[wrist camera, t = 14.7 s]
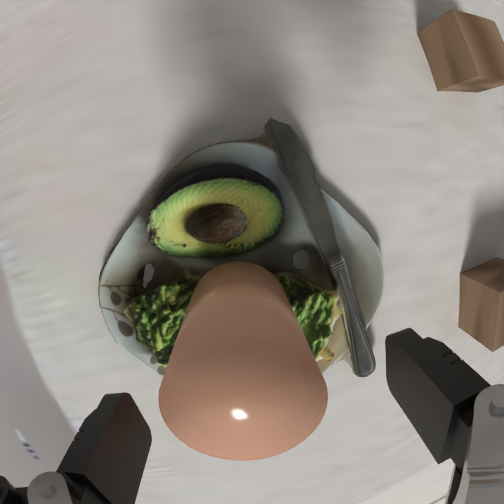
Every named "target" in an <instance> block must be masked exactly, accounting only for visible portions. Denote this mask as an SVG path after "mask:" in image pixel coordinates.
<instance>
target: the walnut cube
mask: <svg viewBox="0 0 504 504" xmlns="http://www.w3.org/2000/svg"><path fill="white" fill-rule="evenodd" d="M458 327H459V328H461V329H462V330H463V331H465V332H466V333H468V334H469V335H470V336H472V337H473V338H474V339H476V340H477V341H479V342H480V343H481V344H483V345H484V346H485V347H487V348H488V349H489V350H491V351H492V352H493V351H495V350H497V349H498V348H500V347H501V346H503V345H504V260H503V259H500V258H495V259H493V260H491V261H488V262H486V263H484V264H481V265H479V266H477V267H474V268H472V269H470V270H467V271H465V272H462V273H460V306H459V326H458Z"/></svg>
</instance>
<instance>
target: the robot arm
mask: <svg viewBox="0 0 504 504" xmlns="http://www.w3.org/2000/svg"><path fill="white" fill-rule="evenodd" d="M385 346H386V377H387V383H388V386H389V389H390V391H391V393H392V395H393V396H394V398H395V399H396V401H397V402H398V404H399V405H400V407H401V408H402V410H403V411H404V413H405V414H406V416H407V417H408V419H409V420H410V422H411V423H412V425H413V426H414V428H415V429H416V431H417V432H418V434H419V435H420V437H421V438H422V440H423V442H424V443H425V445H426V446H427V448H428V449H429V451H430V452H431V454H432V455H433V457H434V459H435V460H436V462H437V463H438V464H440V463H442V462H444V461H445V460H447V459H449V458H451V459H452V460H453V462H454V463H455V465H454V468H453V472H452V477H451V481H450V485H449V489H448V493H447V497H446V500H445V504H504V384H497V385H493V386H491V385H490V384H489V383H488V382H487V381H485V380H484V379H483V378H482V377H481V376H480V375H479V374H478V373H477V372H476V371H474V370H473V369H472V368H471V367H470V366H469V365H468V364H467V363H466V362H464V361H463V360H461V359H460V357H459V356H458V355H456V354H455V353H453V352H452V350H451V349H450V348H448V347H447V346H446V345H445V344H444V343H443V342H440V341H438V340H435V339H432V338H430V337H427V338H425V339H422V338H421V337H420V336H419V335H418V334H417V333H416V332H415V331H414V330H413V329H411V328H407V329H404V330H401V331H399V332H396V333H393V334H390V335H388V336H387V337H386V340H385ZM151 442H152V437H151V431H150V428H149V426H148V424H147V423H146V421H145V419H144V418H143V416H142V414H141V412H140V411H139V409H138V407H137V405H136V403H135V402H134V400H133V398H132V396H131V395H130V394H129V393H114V394H106V395H104V397H103V398H102V400H101V402H100V404H99V405H98V407H97V409H95V410H94V411H93V412H92V413H91V414H90V415H89V416H88V417H87V418H86V419H85V420H84V422H83V423H82V425H81V427H80V429H79V432H77V434H76V436H75V438H74V441H72V443H71V445H70V447H69V449H68V450H67V452H66V454H65V456H64V458H63V460H62V462H61V464H60V465H59V467H58V469H57V471H56V472H45V473H42V474H40V475H38V476H37V477H36V478H34V479H33V480H32V482H31V483H30V485H29V487H23V488H14V487H13V486H12V485H11V484H10V483H9V482H8V481H7V479H6V478H4V477H3V476H0V504H135V500H136V497H137V493H138V489H139V485H140V482H141V478H142V475H143V471H144V467H145V464H146V460H147V457H148V453H149V450H150V446H151Z"/></svg>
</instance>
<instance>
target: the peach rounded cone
mask: <svg viewBox="0 0 504 504" xmlns="http://www.w3.org/2000/svg"><path fill="white" fill-rule="evenodd" d="M327 401H328V393H327V387H326V383H325V380H324V378H323V376H322V373H321V371H320V369H319V367H318V365H317V362H316V360H315V358H314V356H313V353H312V351H311V349H310V347H309V344H308V342H307V340H306V338H305V336H304V333H303V331H302V329H301V327H300V325H299V322H298V320H297V318H296V316H295V314H294V311H293V309H292V307H291V305H290V303H289V300H288V298H287V296H286V294H285V292H284V289H283V287H282V285H281V284H280V282H279V280H278V279H277V278H276V277H275V276H274V275H273V274H272V273H271V272H270V271H268V270H267V269H265V268H263V267H261V266H259V265H257V264H254V263H250V262H242V261H235V262H228V263H224V264H221V265H219V266H217V267H214V268H213V269H211V270H210V271H208V272H207V273H206V274H205V275H204V276H203V277H202V278H201V279H200V280H199V282H198V283H197V285H196V287H195V289H194V291H193V294H192V297H191V300H190V302H189V305H188V308H187V311H186V313H185V316H184V319H183V322H182V325H181V327H180V330H179V333H178V336H177V339H176V342H175V344H174V347H173V350H172V353H171V356H170V359H169V362H168V365H167V368H166V371H165V374H164V377H163V380H162V383H161V386H160V390H159V408H160V412H161V415H162V417H163V419H164V421H165V423H166V425H167V426H168V428H169V429H170V430H171V431H172V433H173V434H174V435H175V436H176V437H177V438H178V439H180V440H181V441H182V442H183V443H185V444H186V445H188V446H189V447H191V448H193V449H195V450H197V451H199V452H201V453H204V454H206V455H209V456H212V457H216V458H221V459H227V460H240V461H244V460H257V459H263V458H267V457H272V456H275V455H278V454H281V453H283V452H285V451H287V450H290V449H291V448H293V447H295V446H297V445H298V444H300V443H301V442H302V441H304V440H305V439H306V438H307V437H308V436H309V435H311V433H312V432H313V431H314V430H315V429H316V428H317V426H318V425H319V423H320V422H321V420H322V418H323V416H324V414H325V410H326V407H327Z"/></svg>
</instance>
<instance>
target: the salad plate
mask: <svg viewBox="0 0 504 504" xmlns="http://www.w3.org/2000/svg"><path fill="white" fill-rule="evenodd" d="M314 172H315V169H314V166H313V164H312V162H311V160H310V158H309V156H308V154H307V152H306V150H305V148H304V147H303V145H302V143H301V141H300V139H299V138H298V137H297V135H296V133H295V132H294V131H293V129H292V128H291V127H290V126H289V125H287V124H284V123H281V122H278V121H276V120H273V119H271V118H270V119H269V120H268V122H267V124H266V125H265V132H264V133H263V135H261V136H260V137H259V138H256V139H252V140H245V141H232V142H221V143H218V144H215V145H210V146H208V147H206V148H203V149H201V150H198V151H196V152H194V153H192V154H190V155H189V156H187V157H186V158H184V159H183V160H182V161H181V162H180V163H178V164H177V165H176V166H175V167H174V168H173V169H172V170H171V171H170V172H169V173H168V174H167V175H166V176H165V177H164V178H163V179H162V181H161V182H160V183H159V184H158V186H157V187H156V188H155V190H154V191H153V192H152V194H151V195H150V196H149V198H148V199H147V201H146V202H145V203H144V205H143V206H142V208H141V209H140V210H139V212H138V213H137V214H136V216H135V218H134V220H133V221H132V223H131V224H130V225H129V226H128V228H127V229H126V231H125V232H124V234H123V236H122V237H121V238H120V240H119V241H118V242H117V244H116V245H115V246H114V247H113V249H112V250H111V253H110V255H109V257H108V259H107V261H106V263H105V264H104V266H103V268H102V270H101V272H100V277H99V289H98V294H99V303H100V307H101V310H102V313H103V317H104V319H105V322H106V324H107V327H108V330H109V332H110V333H111V335H112V336H113V338H114V339H115V341H116V342H117V343H118V344H119V345H120V346H121V347H122V348H123V349H124V350H125V351H126V352H127V353H128V354H130V355H131V356H132V357H134V358H135V359H136V360H138V361H139V362H141V363H142V364H143V365H145V366H146V367H148V368H150V369H151V370H153V371H154V372H156V373H157V374H159V375H161V376H162V377H164V374H165V371H166V368H167V365H168V362H169V359H170V356H171V353H172V350H173V347H174V344H175V342H176V339H177V336H178V333H179V330H180V327H181V325H182V322H183V319H184V316H185V313H186V311H187V308H188V305H189V302H190V300H191V297H192V294H193V291H194V289H195V287H196V285H197V283H198V282H199V280H200V279H201V278H202V277H203V276H204V275H205V274H206V273H207V272H208V271H210V270H211V269H213V268H214V267H217V266H219V265H221V264H224V263H228V262H235V261H242V262H250V263H254V264H257V265H259V266H261V267H263V268H265V269H267V270H268V271H270V272H271V273H272V274H273V275H274V276H275V277H276V278H277V279H278V280H279V282H280V284H281V285H282V287H283V289H284V292H285V294H286V296H287V298H288V300H289V303H290V305H291V307H292V309H293V311H294V314H295V316H296V318H297V320H298V322H299V325H300V327H301V329H302V331H303V333H304V336H305V338H306V340H307V342H308V344H309V347H310V349H311V351H312V353H313V356H314V358H315V360H316V362H317V365H318V367H319V369H320V371H321V373H322V374H323V373H324V372H325V371H326V370H327V369H328V368H329V367H330V366H332V365H333V364H334V363H335V362H338V361H341V360H345V361H346V362H347V363H348V364H349V365H350V366H351V368H352V371H353V373H354V374H356V375H357V376H358V377H367V376H369V375H370V374H371V373H372V372H373V371H374V370H375V365H376V363H375V357H374V354H373V351H372V348H371V345H370V342H369V339H368V334H367V329H368V326H369V324H370V322H371V321H372V319H373V317H374V315H375V314H376V312H377V310H378V307H379V305H380V302H381V298H382V292H383V281H384V265H383V259H382V255H381V252H380V250H379V247H378V246H377V244H376V243H375V242H374V240H373V239H372V238H371V236H370V235H369V234H368V232H367V231H366V230H365V229H364V228H363V227H362V226H361V225H360V223H358V222H357V221H356V220H355V219H354V218H353V217H352V216H351V215H350V214H349V213H348V212H347V211H346V210H345V209H344V208H343V207H342V206H341V205H340V204H339V203H338V202H337V201H335V200H334V199H333V198H332V197H331V196H329V195H328V194H327V193H326V192H325V191H323V190H322V189H320V186H319V185H318V184H317V182H316V180H315V177H314ZM301 249H305V250H307V252H308V253H309V255H310V262H309V264H308V265H307V267H306V268H304V269H297V268H295V267H294V266H293V256H294V254H295V253H296V252H297V251H299V250H301ZM148 263H151V264H152V265H153V267H154V274H153V277H152V280H151V281H150V282H149V283H148V285H147V287H146V288H144V287H143V276H144V270H145V266H146V264H148Z"/></svg>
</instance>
